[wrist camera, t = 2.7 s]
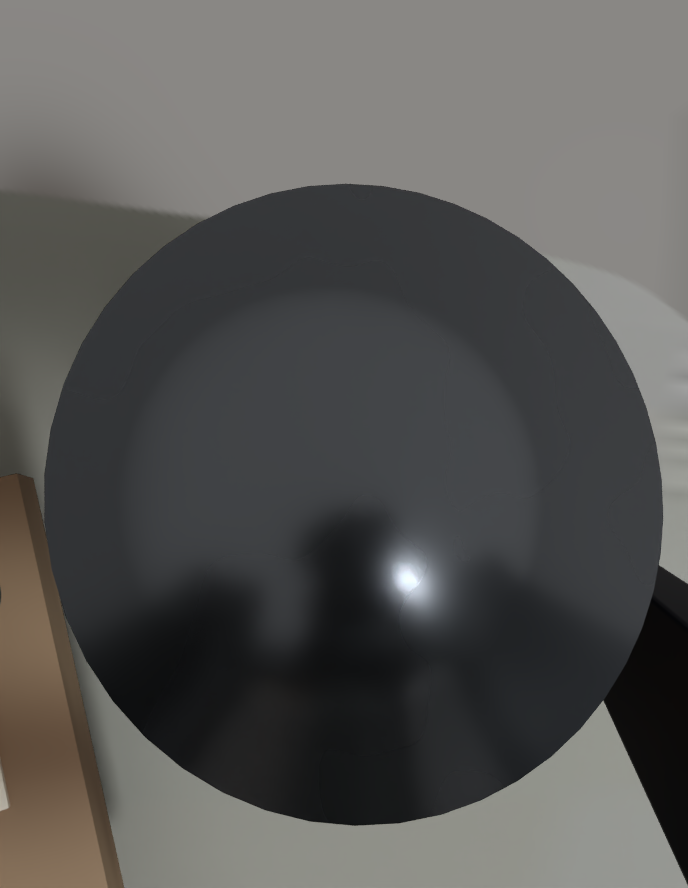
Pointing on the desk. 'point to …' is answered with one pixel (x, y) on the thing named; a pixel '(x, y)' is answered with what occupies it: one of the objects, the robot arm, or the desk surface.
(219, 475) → the canister
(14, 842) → the frame
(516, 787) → the desk surface
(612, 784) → the desk surface
